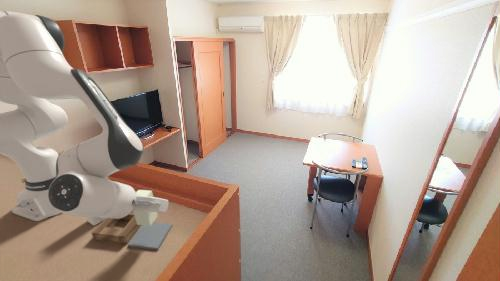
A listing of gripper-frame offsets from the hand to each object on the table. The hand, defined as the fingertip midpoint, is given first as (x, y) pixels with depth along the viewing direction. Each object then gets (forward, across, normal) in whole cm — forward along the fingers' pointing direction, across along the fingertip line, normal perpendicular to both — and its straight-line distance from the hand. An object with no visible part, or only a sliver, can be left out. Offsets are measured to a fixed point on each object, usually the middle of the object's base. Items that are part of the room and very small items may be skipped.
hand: (145, 205), depth 72 cm
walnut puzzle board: (+10, +12, +8) cm, 17 cm away
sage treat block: (+3, 0, +4) cm, 5 cm away
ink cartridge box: (+13, +23, +5) cm, 27 cm away
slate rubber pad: (+8, 0, +9) cm, 12 cm away
